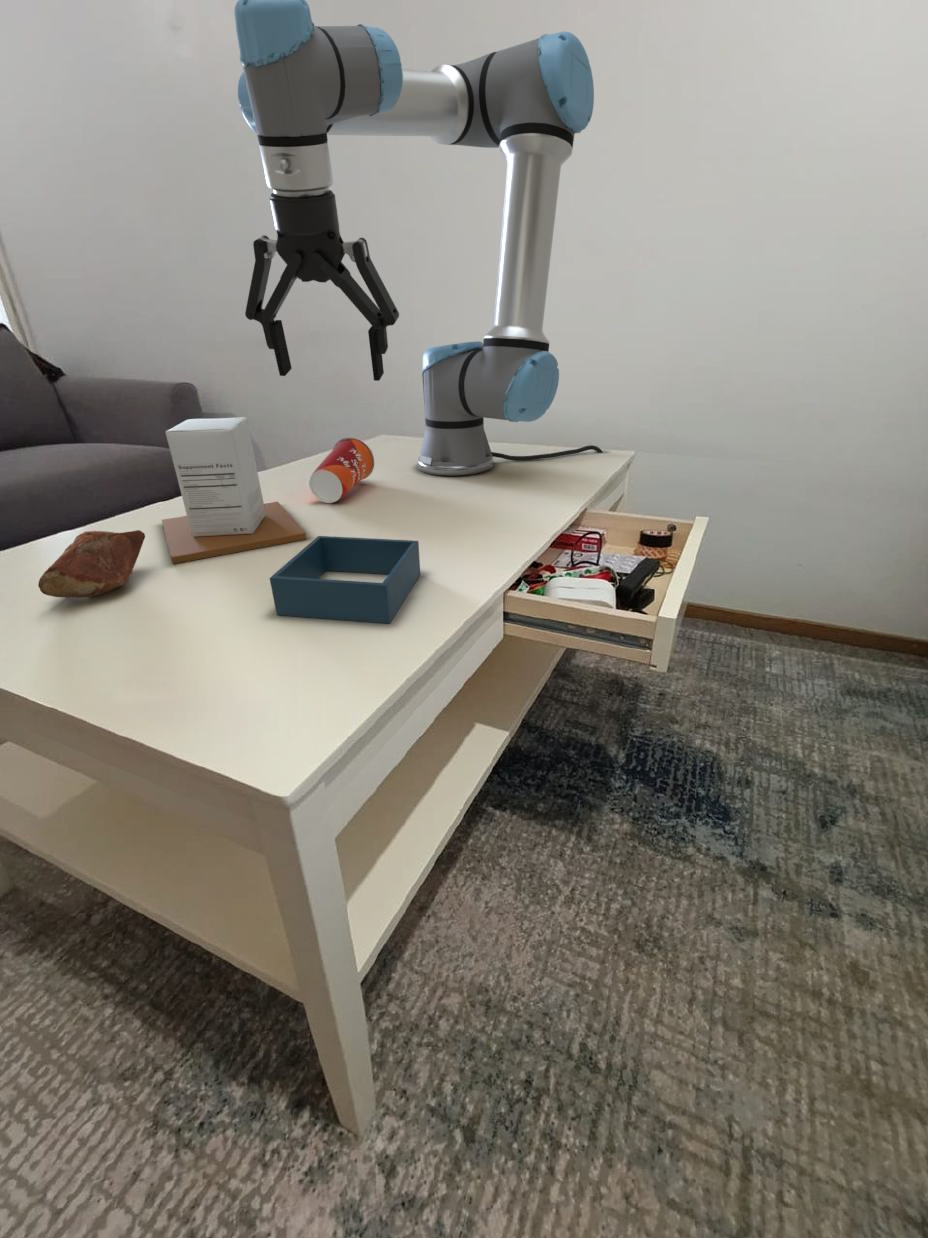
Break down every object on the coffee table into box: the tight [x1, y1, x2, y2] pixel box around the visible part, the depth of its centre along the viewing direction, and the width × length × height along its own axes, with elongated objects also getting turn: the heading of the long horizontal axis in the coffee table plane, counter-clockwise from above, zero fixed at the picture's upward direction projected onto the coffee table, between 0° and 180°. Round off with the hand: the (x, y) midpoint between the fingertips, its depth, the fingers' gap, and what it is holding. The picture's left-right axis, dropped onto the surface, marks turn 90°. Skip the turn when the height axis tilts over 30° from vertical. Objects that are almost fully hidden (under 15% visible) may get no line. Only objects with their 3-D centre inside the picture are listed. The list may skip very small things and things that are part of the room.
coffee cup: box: [308, 436, 375, 504], centre depth 105 cm, size 8×8×15 cm
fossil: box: [37, 529, 146, 598], centre depth 70 cm, size 13×8×10 cm
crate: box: [269, 535, 421, 624], centre depth 68 cm, size 13×13×4 cm
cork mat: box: [161, 501, 307, 565], centre depth 89 cm, size 18×18×1 cm
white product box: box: [164, 416, 266, 537], centre depth 85 cm, size 9×9×15 cm
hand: (332, 374), depth 83 cm, fingers open, 13 cm apart
